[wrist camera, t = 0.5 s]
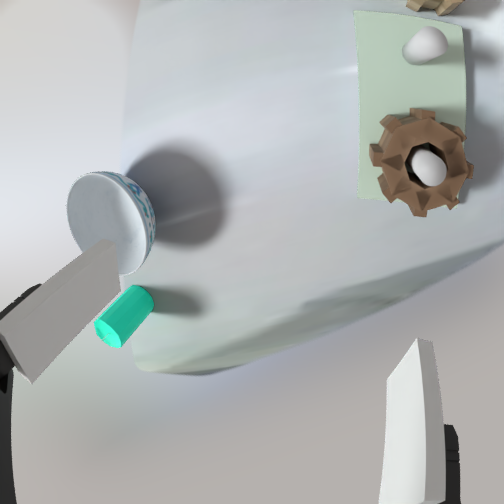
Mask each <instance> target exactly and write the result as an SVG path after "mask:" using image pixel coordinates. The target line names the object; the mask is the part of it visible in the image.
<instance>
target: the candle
mask: <svg viewBox="0 0 504 504" xmlns="http://www.w3.org/2000/svg"><path fill="white" fill-rule="evenodd" d="M153 307H154V302H153V299H152V297H151V296H150V294H149V293H148V292H147V291H146V290H145V289H143V288H142V287H140V286H136V285H132V286H131V287H129V288H128V289H127V290H126V291H125V292H124V293H123V294H122V295H121V296H120V297H119V298H118V299H117V300H116V301H115V302H114V303H113V304H111V305H110V307H109V308H107V310H106V311H104V312H103V313H102V315H101V316H99V317H98V319H97V320H96V321H95V322H94V326H95V330H96V334H97V335H98V336H99V337H100V339H101V340H102V341H104V342H105V343H106V344H108V345H109V346H112V347H116V348H119V347H122V345H123V344H124V343H125V342H126V341H127V339H128V338H129V337H130V336H131V335H132V334H133V332H134V331H135V330H136V329H137V328H138V327H139V325H140V324H141V323H142V322H143V321H144V319H145V318H146V317H147V316H148V315H149V314H150V312H151V311H152V310H153Z"/></svg>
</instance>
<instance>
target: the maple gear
mask: <svg viewBox="0 0 504 504" xmlns="http://www.w3.org/2000/svg"><path fill="white" fill-rule="evenodd" d="M407 1H408V2H407V5H406V7H408V8H410V9H412V10H414V11H416V12H417V11H418V10H419V8H420V7H425V8H431V9H435V11H436V13H437V15H438V16H441V15H447V14H449V13H450V12H451V11H452V10H454V9H455V8H456V7H457V6H458V5H460V4H461V3H462V2H463V1H465V0H407Z"/></svg>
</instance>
